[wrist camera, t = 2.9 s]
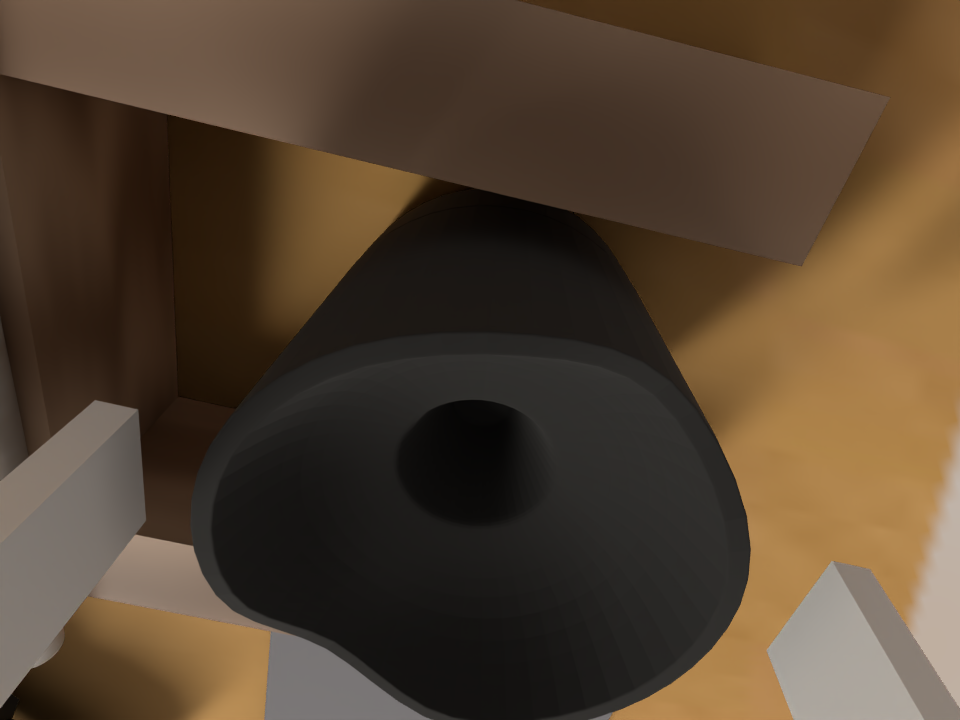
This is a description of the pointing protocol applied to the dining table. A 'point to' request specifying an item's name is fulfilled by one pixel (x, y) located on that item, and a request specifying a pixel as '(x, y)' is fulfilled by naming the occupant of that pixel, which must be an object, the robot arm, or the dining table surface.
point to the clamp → (358, 135)
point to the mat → (325, 687)
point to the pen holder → (480, 477)
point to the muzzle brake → (9, 708)
